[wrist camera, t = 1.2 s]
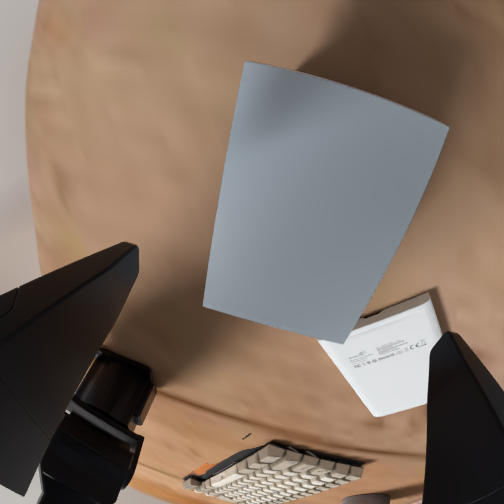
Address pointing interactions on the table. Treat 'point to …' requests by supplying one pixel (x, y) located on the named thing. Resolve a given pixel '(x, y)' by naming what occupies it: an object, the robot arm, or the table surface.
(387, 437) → the table surface
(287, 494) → the mechanical keyboard
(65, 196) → the table surface
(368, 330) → the external hard drive
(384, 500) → the pillar candle
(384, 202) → the lid
